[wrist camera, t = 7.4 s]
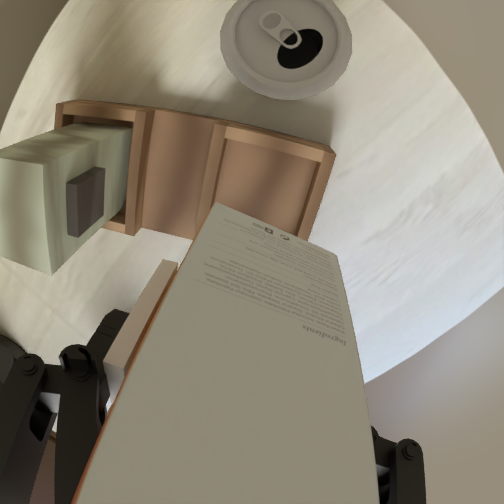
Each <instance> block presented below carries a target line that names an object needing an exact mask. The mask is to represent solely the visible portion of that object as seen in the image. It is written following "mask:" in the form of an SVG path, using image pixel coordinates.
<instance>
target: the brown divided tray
mask: <svg viewBox="0 0 504 504" xmlns="http://www.w3.org/2000/svg"><path fill="white" fill-rule="evenodd" d="M335 157H336V154H335V152H334V151H333V150H332V148H331V147H329V146H326V145H323V144H319V143H316V142H312V141H309V140H305V139H302V138H298V137H295V136H291V135H287V134H283V133H280V132H276V131H272V130H268V129H264V128H259V127H255V126H251V125H246V124H242V123H237V122H233V121H228V120H223V119H218V118H213V117H208V116H203V115H197V114H192V113H186V112H180V111H174V110H167V109H161V108H154V107H146V106H138V105H130V104H121V103H111V102H100V101H87V100H72V101H67V102H62V103H57V104H56V112H55V126H54V130H52V131H49V132H46V133H43V134H40V135H37V136H34V137H32V138H29V139H26V140H23V141H21V142H18V143H16V144H13V145H10V146H8V147H5V148H3V149H1V150H0V256H2V257H4V258H7V259H9V260H12V261H14V262H17V263H19V264H22V265H24V266H27V267H30V268H32V269H35V270H38V271H40V272H43V273H46V274H48V275H51V276H52V275H53V274H54V273H55V272H56V271H57V270H58V269H59V268H60V267H61V266H62V265H63V264H64V263H65V262H66V261H67V260H68V259H69V258H70V257H71V256H72V255H73V254H74V253H75V252H76V251H77V250H78V249H79V248H80V247H81V246H82V245H83V244H84V243H85V242H86V241H87V240H88V239H89V238H90V237H91V236H92V235H93V234H95V233H96V232H97V231H98V230H99V229H100V228H105V229H109V230H112V231H116V232H120V233H124V234H128V235H132V236H134V235H135V234H136V233H137V232H138V231H139V230H140V228H141V227H142V228H146V229H150V230H154V231H158V232H163V233H167V234H171V235H175V236H179V237H183V238H187V239H191V240H194V238H195V236H196V234H197V232H198V230H199V228H200V226H201V225H202V223H203V221H204V219H205V217H206V216H207V214H208V212H209V210H210V209H211V207H212V205H213V204H214V203H215V202H217V203H220V204H222V205H225V206H227V207H229V208H232V209H234V210H236V211H239V212H241V213H243V214H246V215H248V216H250V217H253V218H255V219H258V220H260V221H262V222H264V223H267V224H269V225H271V226H274V227H276V228H278V229H280V230H283V231H285V232H287V233H290V234H292V235H294V236H296V237H299V238H301V239H303V240H306V241H308V238H309V236H310V233H311V230H312V227H313V224H314V221H315V218H316V215H317V212H318V209H319V206H320V203H321V200H322V197H323V194H324V191H325V188H326V185H327V182H328V179H329V176H330V173H331V170H332V167H333V164H334V160H335Z"/></svg>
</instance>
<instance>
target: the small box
mask: <svg viewBox="0 0 504 504" xmlns="http://www.w3.org/2000/svg"><path fill="white" fill-rule="evenodd" d="M71 504H379V492H378V481H377V472H376V462H375V454H374V446H373V438H372V431H371V424H370V418H369V411H368V404H367V398H366V392H365V386H364V380H363V374H362V369H361V363H360V358H359V353H358V348H357V342H356V337H355V332H354V328H353V323H352V318H351V314H350V309H349V305H348V300H347V296H346V291H345V287H344V283H343V279H342V274H341V270H340V266H339V262H338V258H337V255H335V254H334V253H332V252H330V251H327V250H325V249H323V248H321V247H319V246H316V245H314V244H312V243H310V242H308V241H306V240H303V239H301V238H299V237H296V236H294V235H292V234H290V233H287V232H285V231H283V230H280V229H278V228H276V227H274V226H271V225H269V224H267V223H264V222H262V221H260V220H258V219H255V218H253V217H250V216H248V215H246V214H243V213H241V212H239V211H236V210H234V209H232V208H229V207H227V206H225V205H222V204H220V203H217V202H215V203H214V204H213V205H212V207H211V209H210V210H209V212H208V214H207V216H206V217H205V219H204V221H203V223H202V225H201V226H200V228H199V230H198V232H197V234H196V236H195V238H194V240H193V242H192V244H191V246H190V248H189V250H188V252H187V254H186V256H185V258H184V259H183V261H182V263H181V265H180V267H179V269H178V271H177V272H176V274H175V276H174V278H173V280H172V282H171V284H170V285H169V287H168V289H167V291H166V293H165V295H164V297H163V299H162V301H161V303H160V305H159V307H158V309H157V311H156V313H155V315H154V317H153V319H152V321H151V323H150V325H149V327H148V329H147V331H146V333H145V335H144V337H143V339H142V341H141V343H140V345H139V348H138V350H137V352H136V354H135V356H134V358H133V360H132V362H131V365H130V367H129V369H128V371H127V373H126V375H125V378H124V380H123V382H122V384H121V386H120V389H119V391H118V393H117V395H116V398H115V400H114V402H113V404H112V407H111V409H110V411H109V413H108V416H107V418H106V420H105V422H104V425H103V427H102V429H101V432H100V434H99V436H98V439H97V441H96V443H95V446H94V448H93V451H92V453H91V455H90V458H89V460H88V463H87V465H86V468H85V470H84V473H83V475H82V477H81V480H80V482H79V485H78V487H77V490H76V492H75V495H74V497H73V500H72V503H71Z"/></svg>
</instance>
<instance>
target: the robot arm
mask: <svg viewBox="0 0 504 504" xmlns="http://www.w3.org/2000/svg"><path fill="white" fill-rule="evenodd" d="M177 267H178V263H176V262H172V261H169V260H165V259H163V260H162V261H161V263H160V265H159V266H158V268H157V269H156V271H155V273H154V274H153V276H152V277H151V279H150V281H149V282H148V284H147V286H146V287H145V289H144V290H143V292H142V294H141V295H140V297H139V299H138V300H137V302H136V304H135V306H134V307H133V309H132V311H131V312H130V313H126V312H123V311H120V310H117V309H114V310H113V311H111V312H110V313H108V314H107V315H105V317H104V318H103V320H102V322H101V323H100V325H99V326H98V328H97V329H96V332H95V333H94V334H93V336H92V337H91V339H90V340H89V342H88V344H87V345H86V346H84V345H80V344H76V345H70V346H68V347H66V348H65V349H64V350H62V351H61V353H60V356H59V359H60V363H61V365H51V364H44V362H43V360H42V359H41V357H39V356H37V355H36V354H30V353H29V354H26V353H25V352H24V351H23V350H22V349H21V348H20V347H19V346H17V345H16V344H15V343H14V342H12V341H11V340H9V339H8V338H6V337H4V336H2V335H0V504H29V502H30V497H31V494H32V490H33V487H34V483H35V480H36V476H37V473H38V470H39V466H40V463H41V460H42V457H43V454H44V451H45V448H46V445H47V442H48V439H49V436H50V433H51V430H52V428H53V425H54V422H55V419H56V417H57V414H58V420H57V432H56V448H55V504H71V503H72V500H73V497H74V495H75V492H76V490H77V487H78V485H79V482H80V480H81V477H82V475H83V473H84V470H85V468H86V465H87V463H88V460H89V458H90V455H91V453H92V451H93V448H94V446H95V443H96V441H97V439H98V436H99V434H100V432H101V429H102V427H103V425H104V422H105V420H106V418H107V409H106V403H107V401H108V399H109V397H110V400H111V403H113V402H114V400H115V398H116V395H117V393H118V391H119V389H120V386H121V384H122V382H123V380H124V378H125V375H126V373H127V371H128V369H129V367H130V365H131V362H132V360H133V358H134V356H135V354H136V352H137V350H138V348H139V345H140V343H141V341H142V339H143V337H144V335H145V333H146V331H147V329H148V327H149V325H150V323H151V321H152V319H153V317H154V315H155V313H156V311H157V309H158V307H159V305H160V303H161V301H162V299H163V297H164V295H165V293H166V291H167V289H168V287H169V285H170V284H171V282H172V280H173V278H174V276H175V274H176V272H177ZM371 431H372V438H373V446H374V454H375V462H376V472H377V481H378V492H379V504H426V490H425V473H424V463H423V462H424V461H423V453H422V449H421V447H420V445H419V444H418V443H417V442H415V441H414V440H412V439H403V440H401V441H399V442H398V443H395V442H392V441H389V440H387V439H384V438H382V437H380V436H379V435H378V433H377V431H376V430H375V428H374V427H372V426H371Z"/></svg>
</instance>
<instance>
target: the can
mask: <svg viewBox="0 0 504 504" xmlns="http://www.w3.org/2000/svg"><path fill="white" fill-rule="evenodd" d="M220 39H221V52H222V54H223V57H224V60H225V62H226V65H227V67H228V68H229V70H230V71H231V72H232V73H233V75H234V76H235V77H236V78H237V79H238V81H239V82H240V83H242V84H243V85H245V86H246V87H248V88H249V89H251V90H252V91H254V92H255V93H258V94H261V95H264V96H267V97H270V98H273V99H283V100H299V99H302V98H306V97H310V96H315V95H317V94H319V93H321V92H322V91H324V90H325V89H327V88H329V87H330V86H332V85H333V84H334V83H335V82H336V81H337V80H338V79H339V77H340V76H341V75H342V74H343V73H344V71H345V70H346V67H347V65H348V62H349V59H350V57H351V54H352V34H351V32H350V29H349V26H348V23H347V21H346V18H345V16H344V15H343V14H342V12H341V11H340V10H339V9H338V7H337V6H336V5H335V4H334V2H333V1H331V0H238V1H237V2H236V3H235V4H234V5H233V6H232V8H231V9H230V10H229V11H228V13H227V14H226V17H225V20H224V22H223V25H222V28H221V31H220Z"/></svg>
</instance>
